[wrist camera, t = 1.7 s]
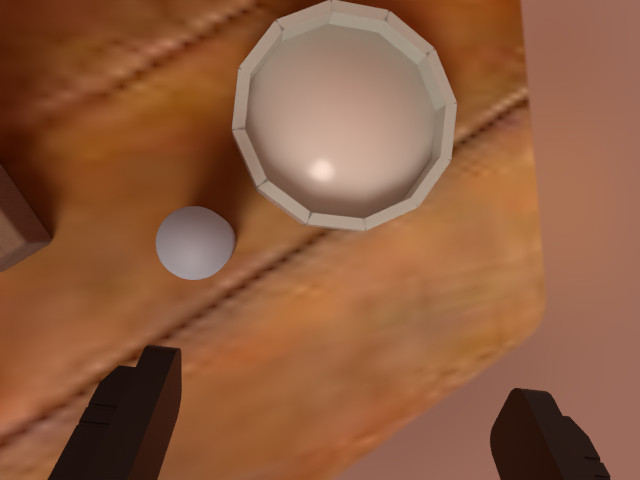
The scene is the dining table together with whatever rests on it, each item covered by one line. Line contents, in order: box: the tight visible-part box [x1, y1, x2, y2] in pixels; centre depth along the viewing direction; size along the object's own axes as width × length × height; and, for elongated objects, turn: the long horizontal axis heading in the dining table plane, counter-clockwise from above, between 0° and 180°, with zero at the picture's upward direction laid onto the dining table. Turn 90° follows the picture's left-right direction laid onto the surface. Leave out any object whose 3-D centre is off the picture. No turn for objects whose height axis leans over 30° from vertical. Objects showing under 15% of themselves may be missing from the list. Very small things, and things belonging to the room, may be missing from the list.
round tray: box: [232, 0, 457, 231], centre depth 37 cm, size 17×17×3 cm
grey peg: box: [156, 206, 236, 280], centre depth 32 cm, size 4×4×9 cm
